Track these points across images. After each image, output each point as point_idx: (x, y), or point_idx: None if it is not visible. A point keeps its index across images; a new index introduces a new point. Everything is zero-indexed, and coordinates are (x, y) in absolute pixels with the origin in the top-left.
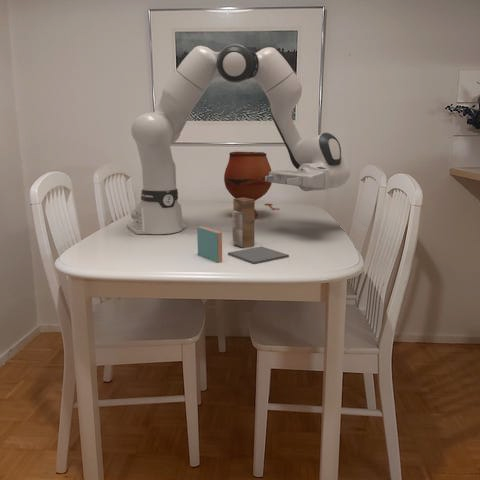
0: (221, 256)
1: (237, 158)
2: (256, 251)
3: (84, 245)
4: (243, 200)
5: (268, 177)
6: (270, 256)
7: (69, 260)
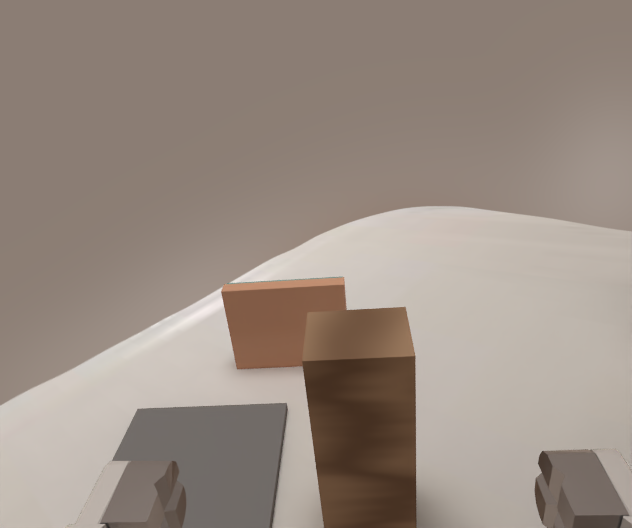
0: (235, 354)
1: None
2: (219, 481)
3: (591, 232)
4: (315, 315)
5: (544, 460)
6: None
7: (457, 213)
